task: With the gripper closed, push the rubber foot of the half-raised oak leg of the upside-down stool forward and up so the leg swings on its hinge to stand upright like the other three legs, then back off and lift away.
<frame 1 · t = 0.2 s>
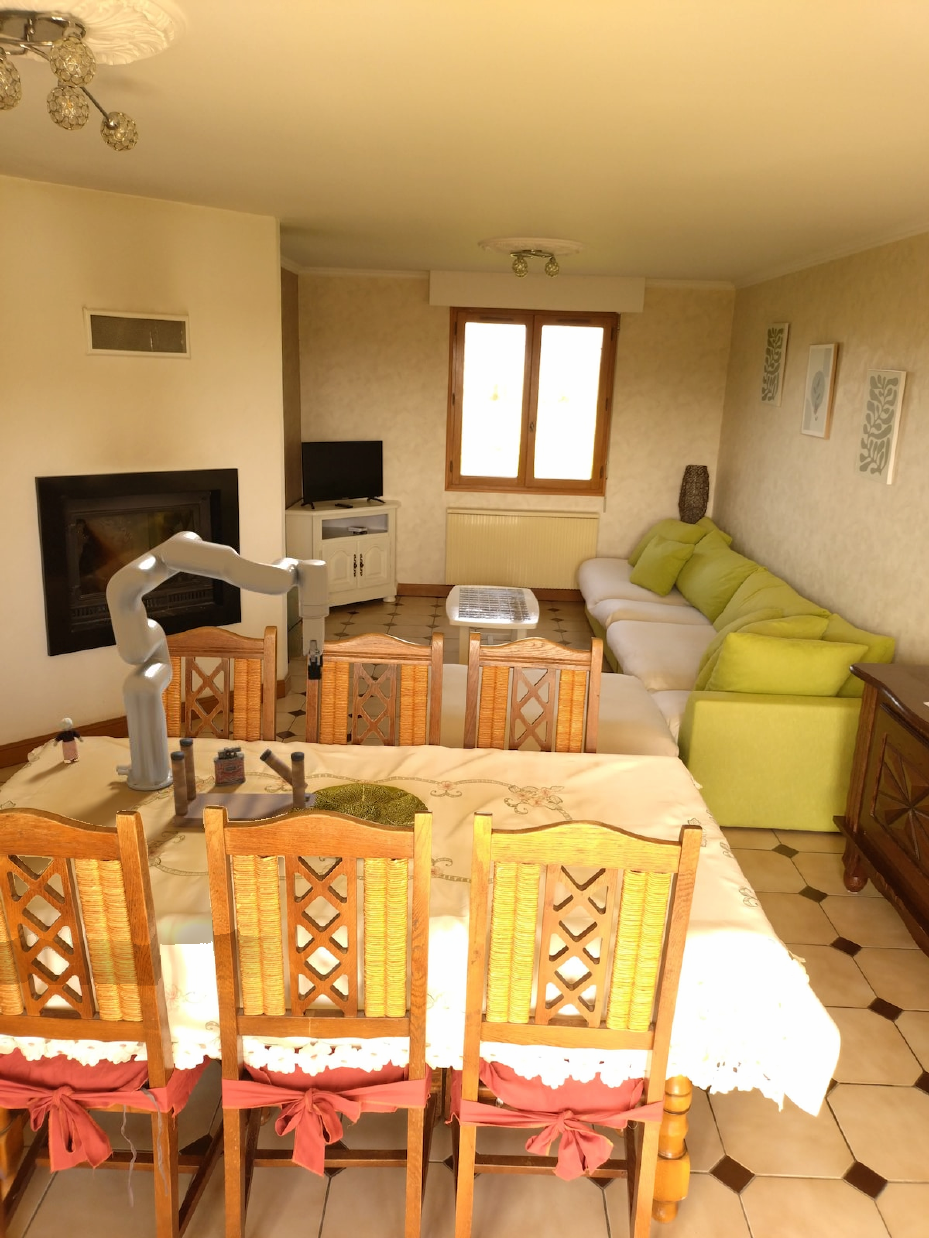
hand: (315, 673, 243), 31 cm above the table, tool pointing down, fingers open, 9 cm apart
grandmother figurine: (70, 761, 262), on the table
folding leg: (284, 771, 235), point 10 cm above the table, hinge at 45.0°
stool: (247, 814, 234), on the table
lighter: (230, 783, 250), on the table
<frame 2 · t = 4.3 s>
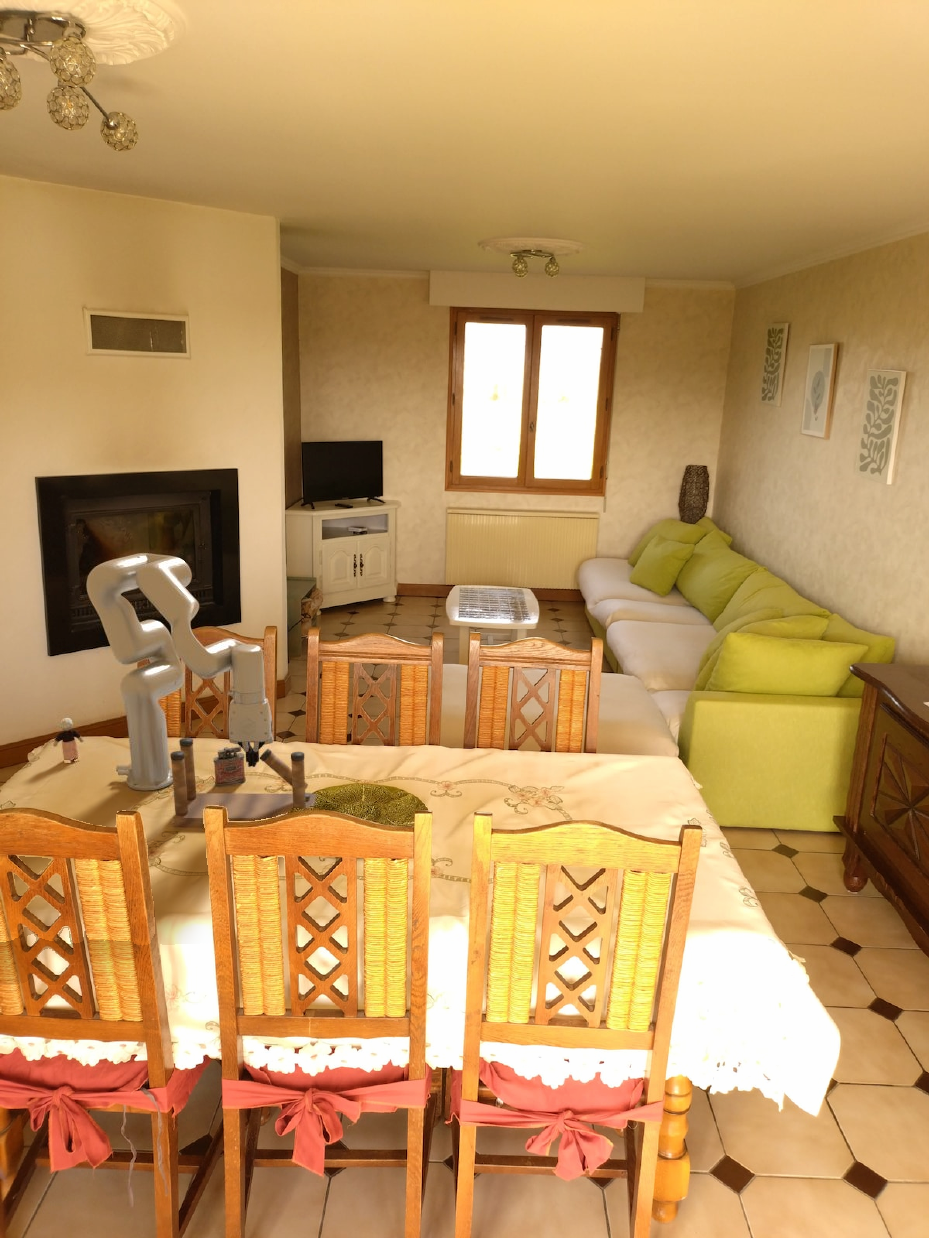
hand: (252, 764, 234), 12 cm above the table, tool pointing down, fingers closed
folding leg: (284, 771, 235), point 10 cm above the table, hinge at 45.0°, touching gripper
everything else where it was.
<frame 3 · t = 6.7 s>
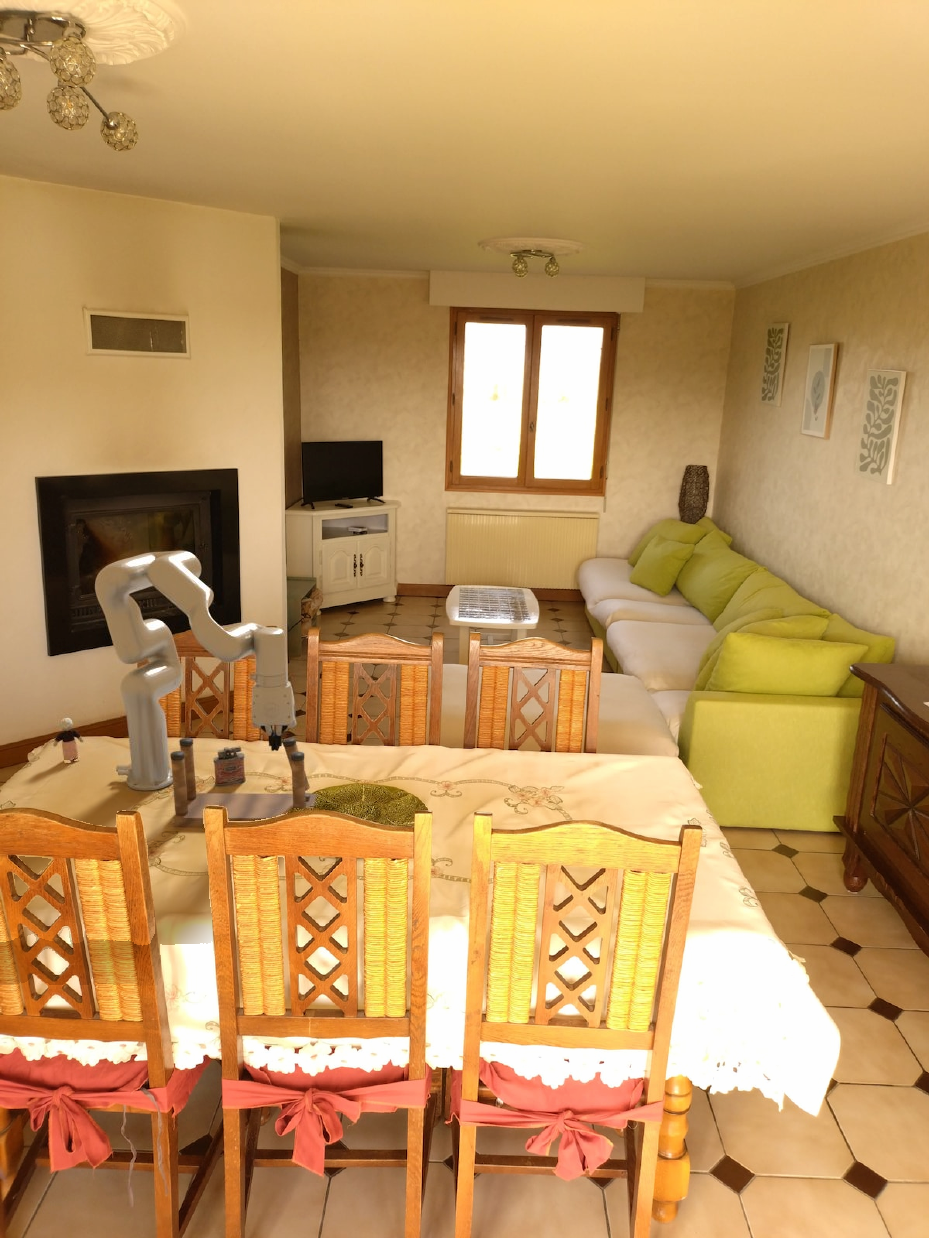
hand: (275, 748, 233), 16 cm above the table, tool pointing down, fingers closed
folding leg: (296, 764, 235), point 12 cm above the table, hinge at 75.7°, touching gripper
everything else where it was.
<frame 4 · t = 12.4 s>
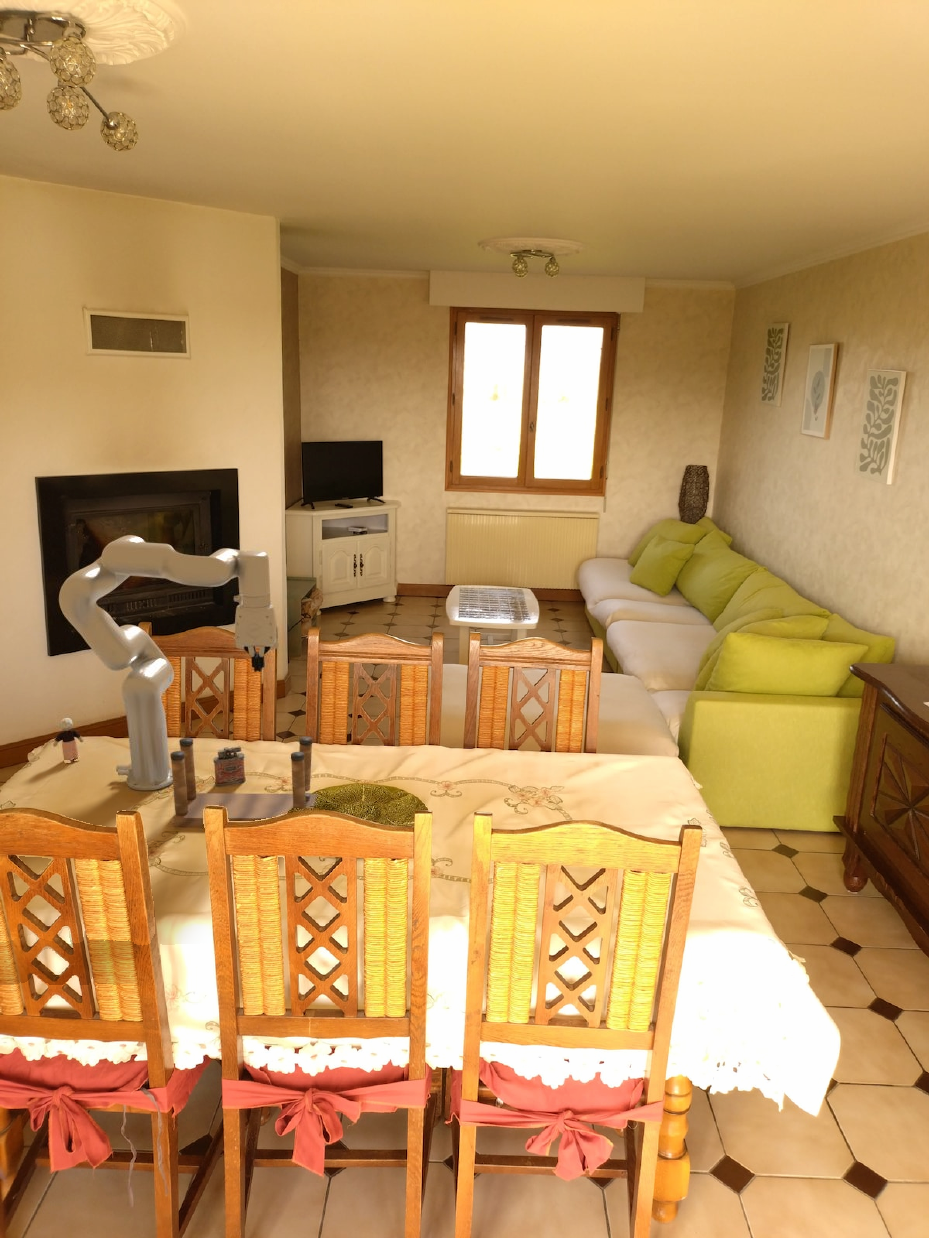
hand: (258, 669, 241), 32 cm above the table, tool pointing down, fingers closed
folding leg: (304, 764, 235), point 12 cm above the table, hinge at 93.9°
everything else where it was.
at the end: folding leg at +94° (first picture: +45°); the gripper is holding nothing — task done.
